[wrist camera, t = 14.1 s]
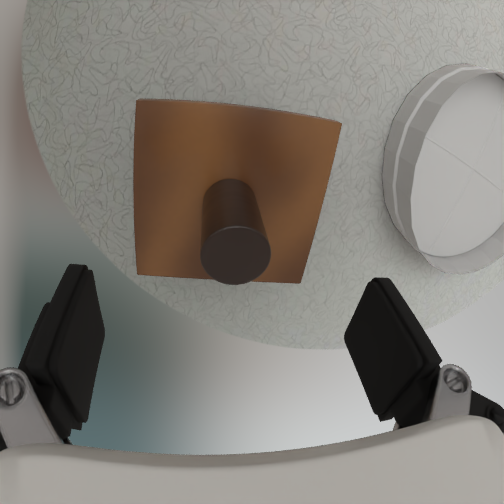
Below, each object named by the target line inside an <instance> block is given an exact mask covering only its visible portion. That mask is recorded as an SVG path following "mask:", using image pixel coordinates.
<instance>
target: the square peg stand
mask: <svg viewBox="0 0 504 504" xmlns="http://www.w3.org/2000/svg"><path fill="white" fill-rule="evenodd" d="M341 126H342V123H340V122H338V121H335V120H330V119H325V118H320V117H315V116H310V115H305V114H299V113H293V112H287V111H281V110H275V109H268V108H261V107H253V106H245V105H236V104H227V103H217V102H205V101H191V100H173V99H138V100H136V112H135V132H134V172H133V190H134V231H135V251H136V266H137V275H150V276H165V277H180V278H197V279H214V280H216V281H218V282H221V283H224V284H229V285H239V284H245V283H248V282H250V281H253V282H276V283H301V280H302V276H303V273H304V269H305V266H306V262H307V259H308V255H309V252H310V248H311V245H312V241H313V238H314V234H315V230H316V227H317V223H318V219H319V215H320V212H321V208H322V204H323V200H324V196H325V192H326V188H327V184H328V180H329V176H330V172H331V168H332V164H333V160H334V156H335V152H336V147H337V143H338V139H339V134H340V130H341Z"/></svg>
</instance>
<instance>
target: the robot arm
mask: <svg viewBox="0 0 504 504" xmlns="http://www.w3.org/2000/svg"><path fill="white" fill-rule="evenodd" d="M104 337H105V329H104V324H103V320H102V315H101V311H100V306H99V301H98V297H97V292H96V286H95V281H94V276H93V271H92V270H88V267H87V266H86V265H78V264H69V266H68V267H67V269H66V271H65V273H64V275H63V277H62V279H61V281H60V283H59V285H58V287H57V289H56V291H55V294H54V296H53V298H52V300H51V302H50V303H49V302H48V303H46V304H45V305H44V307H43V309H42V311H41V313H40V315H39V318H38V320H37V322H36V324H35V327H34V329H33V331H32V334H31V336H30V339H29V341H28V343H27V346H26V348H25V351H24V354H23V357H22V359H21V362H20V364H19V367H18V369H17V368H14V367H13V368H11V367H9V368H4V369H1V370H0V504H504V409H503V408H502V407H501V406H500V405H498V404H497V403H495V402H493V401H491V400H489V399H488V398H486V397H484V396H482V395H480V394H478V393H476V392H474V391H473V390H471V388H472V386H471V380H470V378H469V376H468V375H467V373H466V372H465V371H464V370H463V369H462V368H460V367H459V366H456V365H454V364H447V365H444V366H443V367H442V368H440V366H439V364H440V363H441V362H442V359H441V358H440V356H439V354H438V353H437V351H436V349H435V348H434V346H433V344H432V343H431V341H430V339H429V338H428V336H427V334H426V333H425V331H424V330H423V328H422V326H421V325H420V323H419V322H418V320H417V319H416V317H415V315H414V314H413V312H412V311H411V309H410V308H409V306H408V305H407V303H406V302H405V300H404V299H403V297H402V296H401V294H400V293H399V291H398V290H397V288H396V287H395V285H394V284H393V282H392V281H391V280H390V279H389V278H373V279H372V281H371V282H369V283H368V284H367V286H366V288H365V291H364V293H363V295H362V297H361V300H360V302H359V304H358V306H357V308H356V310H355V313H354V315H353V317H352V319H351V321H350V323H349V325H348V327H347V329H346V332H345V335H344V340H345V343H346V346H347V348H348V350H349V353H350V355H351V358H352V360H353V362H354V365H355V367H356V370H357V372H358V375H359V377H360V379H361V382H362V385H363V387H364V389H365V392H366V395H367V397H368V400H369V402H370V404H371V407H372V409H373V412H374V413H375V414H376V415H378V417H379V420H380V422H381V421H385V420H389V419H392V418H393V417H394V418H395V420H396V423H395V426H394V428H393V431H390V432H386V433H382V434H378V435H373V436H369V437H364V438H360V439H355V440H350V441H345V442H340V443H334V444H328V445H322V446H316V447H309V448H301V449H293V450H284V451H275V452H264V453H250V454H229V455H228V454H227V455H177V454H157V453H143V452H130V451H129V452H128V451H119V450H110V449H101V448H94V447H86V446H77V445H73V444H72V443H71V441H70V440H69V438H68V437H69V436H70V434H71V429H77V430H81V428H82V422H85V423H86V422H87V420H88V415H89V409H90V403H91V398H92V393H93V387H94V382H95V377H96V372H97V368H98V363H99V359H100V354H101V350H102V345H103V341H104Z"/></svg>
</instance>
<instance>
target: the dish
mask: <svg viewBox="0 0 504 504" xmlns="http://www.w3.org/2000/svg"><path fill="white" fill-rule="evenodd" d="M382 181H383V189H384V197H385V204H386V207H387V209H388V211H389V214H390V216H391V219H392V221H393V224H394V225H395V227H396V228H397V229H398V230H399V231H400V233H401V234H402V235H403V236H404V237H405V239H406V240H407V241H408V242H409V243H410V244H411V245H412V247H413V248H414V249H415V250H416V251H418V252H419V253H421V254H422V255H423V256H424V257H425V259H426V260H427V261H428V262H429V263H430V265H432V266H434V267H435V268H437V269H439V270H441V271H442V272H444V273H451V274H460V275H461V274H466V273H471V272H475V271H478V270H480V269H482V268H484V267H486V266H488V265H490V264H492V263H494V262H495V261H497V260H498V259H499V258H500V257H501V256H503V255H504V74H503V73H501V72H496V71H493V70H490V69H487V68H484V67H481V66H476V65H470V64H457V65H446V66H444V67H442V68H440V69H438V70H436V71H434V72H432V73H431V74H429V75H427V76H426V77H425V78H424V79H423V80H422V81H421V82H420V83H419V84H418V85H417V86H416V87H415V88H414V89H413V90H412V91H411V92H410V93H409V94H408V95H407V97H406V99H405V100H404V102H403V104H402V106H401V107H400V109H399V111H398V112H397V114H396V116H395V118H394V119H393V123H392V126H391V129H390V133H389V136H388V139H387V142H386V146H385V151H384V162H383V172H382Z"/></svg>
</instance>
